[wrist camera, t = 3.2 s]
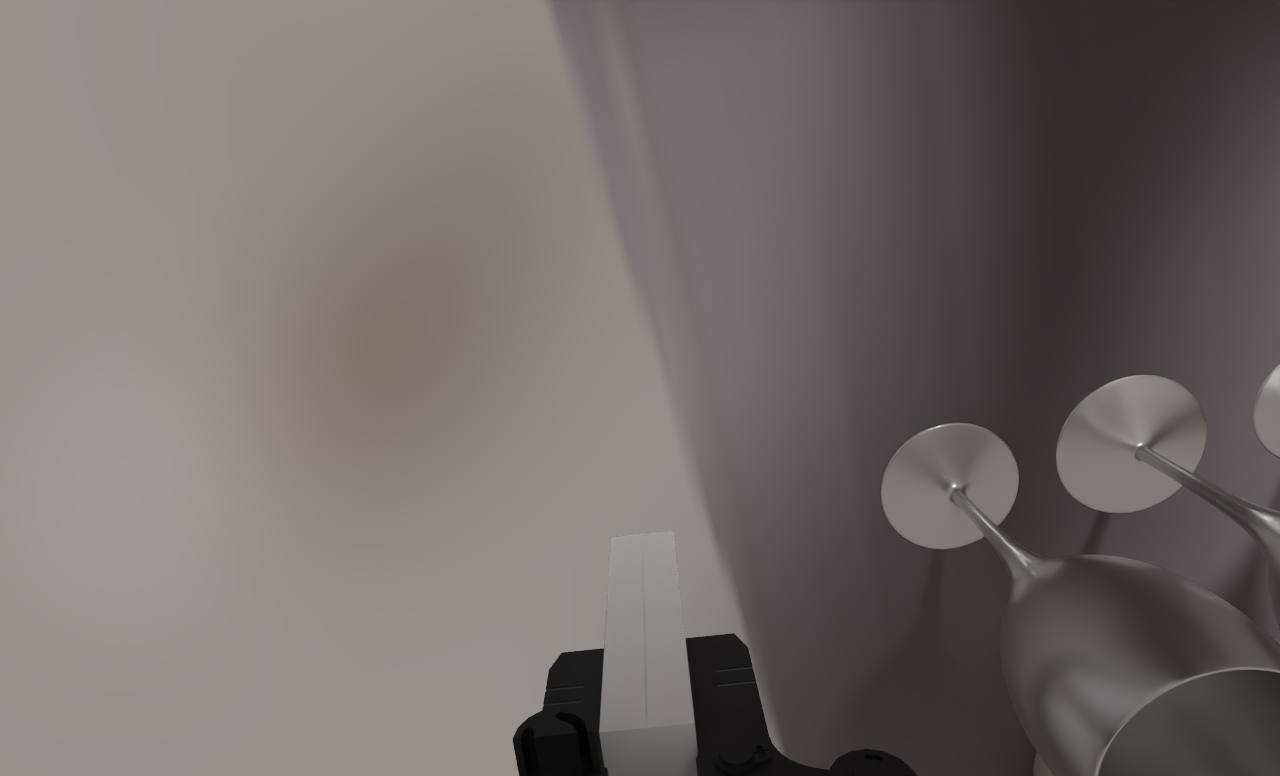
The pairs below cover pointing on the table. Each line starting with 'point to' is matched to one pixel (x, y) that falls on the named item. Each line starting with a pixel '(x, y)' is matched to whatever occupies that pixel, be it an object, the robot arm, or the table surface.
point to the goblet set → (1113, 589)
